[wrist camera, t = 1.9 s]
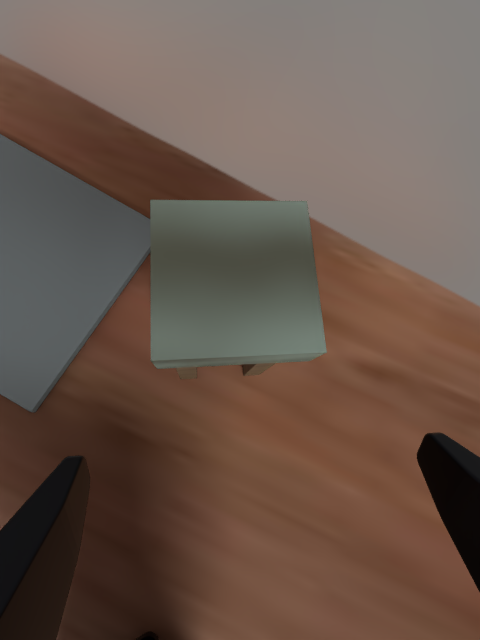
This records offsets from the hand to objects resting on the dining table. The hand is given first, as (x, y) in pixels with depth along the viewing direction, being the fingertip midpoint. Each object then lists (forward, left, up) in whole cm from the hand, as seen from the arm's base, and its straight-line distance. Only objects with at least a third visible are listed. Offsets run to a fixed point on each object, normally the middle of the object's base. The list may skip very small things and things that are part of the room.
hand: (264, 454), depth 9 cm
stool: (+3, +5, -13) cm, 14 cm away
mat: (-6, +16, -13) cm, 22 cm away
